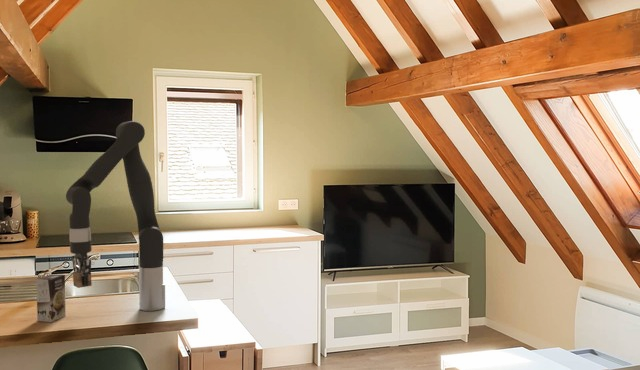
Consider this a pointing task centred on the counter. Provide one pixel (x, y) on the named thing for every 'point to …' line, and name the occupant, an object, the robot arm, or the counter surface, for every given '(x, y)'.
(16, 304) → the counter surface
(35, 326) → the counter surface
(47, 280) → the coffee box
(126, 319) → the counter surface
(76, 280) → the walnut cube
